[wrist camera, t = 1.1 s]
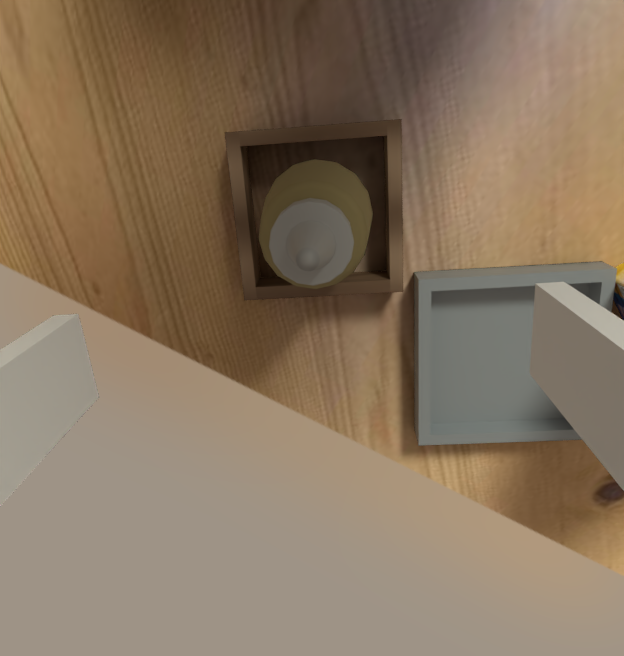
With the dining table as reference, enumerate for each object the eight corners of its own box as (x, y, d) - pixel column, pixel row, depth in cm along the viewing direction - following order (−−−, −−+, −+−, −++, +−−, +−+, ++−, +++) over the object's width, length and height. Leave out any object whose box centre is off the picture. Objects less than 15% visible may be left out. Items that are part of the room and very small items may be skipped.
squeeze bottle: (322, 279, 44) (314, 368, 27) (248, 213, 42) (190, 264, 25) (391, 206, 42) (429, 253, 25) (315, 134, 40) (300, 131, 23)
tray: (414, 272, 43) (418, 279, 41) (601, 261, 42) (617, 268, 40) (414, 430, 48) (418, 445, 46) (582, 424, 47) (594, 439, 45)
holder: (232, 132, 40) (224, 132, 37) (396, 120, 39) (401, 119, 37) (250, 289, 44) (244, 300, 42) (398, 281, 44) (403, 291, 41)
